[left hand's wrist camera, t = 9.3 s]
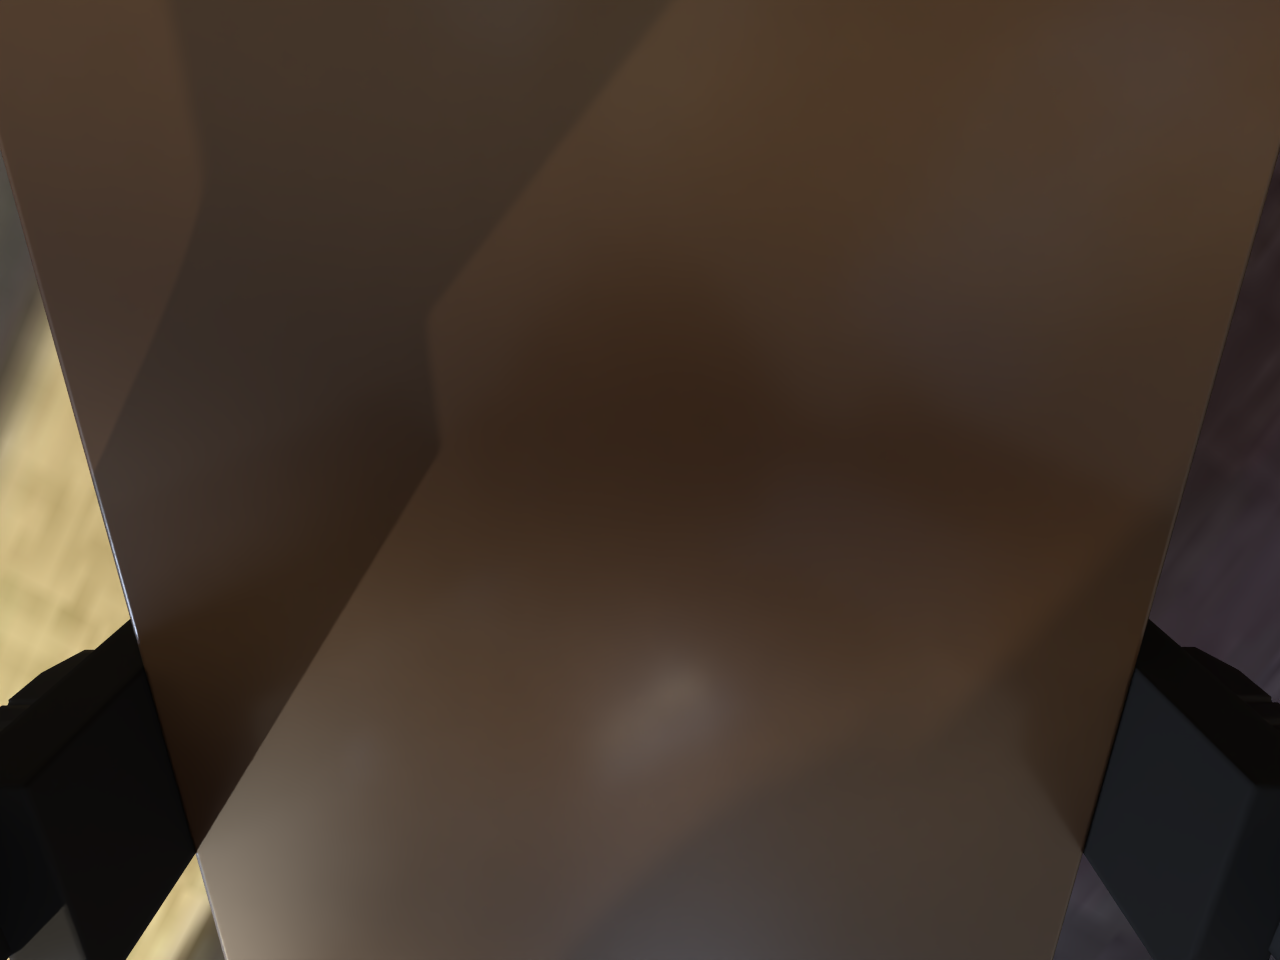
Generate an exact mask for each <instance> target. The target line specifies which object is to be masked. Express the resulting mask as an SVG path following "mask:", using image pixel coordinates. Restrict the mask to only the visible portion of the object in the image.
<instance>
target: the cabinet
mask: <svg viewBox="0 0 1280 960" xmlns="http://www.w3.org/2000/svg"><path fill="white" fill-rule="evenodd" d="M0 149H1V153H2V156H3V160H4V164H5V167H6V171H7V174H8V178H9V182H10V185H11V189H12V192H13V196H14V200H15V203H16V207H17V210H18V214H19V218H20V221H21V225H22V229H23V232H24V236H25V239H26V243H27V247H28V250H29V254H30V257H31V261H32V265H33V268H34V272H35V275H36V279H37V283H38V286H39V290H40V293H41V297H42V301H43V304H44V308H45V312H46V315H47V319H48V322H49V326H50V330H51V333H52V337H53V340H54V344H55V348H56V351H57V355H58V358H59V362H60V366H61V369H62V373H63V376H64V380H65V384H66V387H67V391H68V395H69V398H70V402H71V405H72V409H73V413H74V416H75V420H76V423H77V427H78V431H79V434H80V438H81V441H82V445H83V449H84V452H85V456H86V459H87V463H88V467H89V470H90V474H91V477H92V481H93V485H94V488H95V492H96V496H97V499H98V503H99V506H100V510H101V514H102V517H103V521H104V524H105V528H106V532H107V535H108V539H109V542H110V546H111V550H112V553H113V557H114V560H115V564H116V568H117V571H118V575H119V579H120V582H121V586H122V589H123V593H124V597H125V600H126V604H127V607H128V611H129V615H130V618H131V622H132V625H133V629H134V633H135V636H136V640H137V643H138V647H139V651H140V654H141V658H142V662H143V665H144V669H145V672H146V676H147V680H148V683H149V687H150V690H151V694H152V698H153V701H154V705H155V708H156V712H157V716H158V719H159V723H160V726H161V730H162V734H163V737H164V741H165V745H166V748H167V752H168V755H169V759H170V763H171V766H172V770H173V773H174V777H175V781H176V784H177V788H178V791H179V795H180V799H181V802H182V806H183V809H184V813H185V817H186V820H187V824H188V828H189V831H190V835H191V838H192V842H193V846H194V849H195V853H196V856H197V860H198V864H199V867H200V871H201V874H202V878H203V882H204V885H205V889H206V892H207V896H208V900H209V903H210V907H211V911H212V914H213V918H214V921H215V925H216V929H217V932H218V936H219V939H220V943H221V947H222V950H223V954H224V957H225V960H1053V957H1054V954H1055V950H1056V946H1057V943H1058V939H1059V936H1060V932H1061V929H1062V925H1063V921H1064V918H1065V914H1066V911H1067V907H1068V904H1069V900H1070V896H1071V893H1072V889H1073V886H1074V882H1075V879H1076V875H1077V871H1078V868H1079V864H1080V861H1081V857H1082V854H1083V850H1084V846H1085V843H1086V839H1087V836H1088V832H1089V829H1090V825H1091V821H1092V818H1093V814H1094V811H1095V807H1096V804H1097V800H1098V796H1099V793H1100V789H1101V786H1102V782H1103V779H1104V775H1105V771H1106V768H1107V764H1108V761H1109V757H1110V754H1111V750H1112V746H1113V743H1114V739H1115V736H1116V732H1117V729H1118V725H1119V722H1120V718H1121V714H1122V711H1123V707H1124V704H1125V700H1126V697H1127V693H1128V689H1129V686H1130V682H1131V679H1132V675H1133V672H1134V668H1135V664H1136V661H1137V657H1138V654H1139V650H1140V647H1141V643H1142V639H1143V636H1144V632H1145V629H1146V625H1147V622H1148V618H1149V614H1150V611H1151V607H1152V604H1153V600H1154V597H1155V593H1156V589H1157V586H1158V582H1159V579H1160V575H1161V572H1162V568H1163V564H1164V561H1165V557H1166V554H1167V550H1168V547H1169V543H1170V539H1171V536H1172V532H1173V529H1174V525H1175V522H1176V518H1177V514H1178V511H1179V507H1180V504H1181V500H1182V497H1183V493H1184V489H1185V486H1186V482H1187V479H1188V475H1189V472H1190V468H1191V464H1192V461H1193V457H1194V454H1195V450H1196V447H1197V443H1198V439H1199V436H1200V432H1201V429H1202V425H1203V422H1204V418H1205V414H1206V411H1207V407H1208V404H1209V400H1210V397H1211V393H1212V389H1213V386H1214V382H1215V379H1216V375H1217V372H1218V368H1219V364H1220V361H1221V357H1222V354H1223V350H1224V347H1225V343H1226V339H1227V336H1228V332H1229V329H1230V325H1231V322H1232V318H1233V314H1234V311H1235V307H1236V304H1237V300H1238V297H1239V293H1240V289H1241V286H1242V282H1243V279H1244V275H1245V272H1246V268H1247V264H1248V261H1249V257H1250V254H1251V250H1252V247H1253V243H1254V239H1255V236H1256V232H1257V229H1258V225H1259V222H1260V218H1261V214H1262V211H1263V207H1264V204H1265V200H1266V197H1267V193H1268V189H1269V186H1270V182H1271V179H1272V175H1273V172H1274V168H1275V164H1276V161H1277V157H1278V154H1279V150H1280V0H0Z"/></svg>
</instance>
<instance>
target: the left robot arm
mask: <svg viewBox="0 0 1280 960" xmlns="http://www.w3.org/2000/svg"><path fill="white" fill-rule="evenodd" d="M1083 853H1084V855H1085V856H1086V858H1087V859H1088V861H1089V862H1090V864H1091V865H1092V867H1093V868H1094V870H1095V871H1096V873H1097V874H1098V876H1099V877H1100V879H1101V881H1102V882H1103V884H1104V885H1105V887H1106V888H1107V890H1108V891H1109V893H1110V894H1111V896H1112V897H1113V899H1114V900H1115V902H1116V903H1117V905H1118V906H1119V908H1120V909H1121V911H1122V913H1123V914H1124V916H1125V917H1126V919H1127V920H1128V922H1129V923H1130V925H1131V926H1132V928H1133V929H1134V931H1135V932H1136V934H1137V935H1138V937H1139V938H1140V940H1141V941H1142V943H1143V945H1144V946H1145V948H1146V949H1147V951H1148V952H1149V954H1150V955H1151V957H1152V958H1153V960H1269V958H1270V955H1271V954H1272V955H1273V957H1274V958H1275V959H1276V960H1280V704H1279V703H1278V702H1272V700H1271V696H1269V695H1268V694H1267V693H1266V692H1265V691H1263V690H1262V689H1261V688H1260V687H1258V686H1257V685H1256V684H1255V683H1254V682H1252V681H1251V680H1250V679H1249V678H1248V677H1246V676H1245V675H1244V674H1243V673H1241V672H1240V671H1239V670H1237V669H1236V668H1234V667H1232V666H1230V665H1228V664H1226V663H1224V662H1222V661H1220V660H1219V659H1217V658H1215V657H1213V656H1211V655H1209V654H1207V653H1205V652H1203V651H1201V650H1200V649H1198V648H1196V647H1180V646H1179V645H1178V644H1177V643H1176V642H1175V641H1174V640H1172V639H1171V638H1170V637H1169V636H1168V635H1167V634H1165V633H1164V632H1163V631H1162V630H1161V629H1160V628H1159V627H1157V626H1156V625H1155V624H1154V623H1153V622H1152V621H1150V620H1149V619H1148V622H1147V625H1146V629H1145V632H1144V636H1143V639H1142V643H1141V647H1140V650H1139V654H1138V657H1137V661H1136V664H1135V668H1134V672H1133V675H1132V679H1131V682H1130V686H1129V689H1128V693H1127V697H1126V700H1125V704H1124V707H1123V711H1122V714H1121V718H1120V722H1119V725H1118V729H1117V732H1116V736H1115V739H1114V743H1113V746H1112V750H1111V754H1110V757H1109V761H1108V764H1107V768H1106V771H1105V775H1104V779H1103V782H1102V786H1101V789H1100V793H1099V796H1098V800H1097V804H1096V807H1095V811H1094V814H1093V818H1092V821H1091V825H1090V829H1089V832H1088V836H1087V839H1086V843H1085V846H1084V850H1083ZM194 855H195V849H194V846H193V842H192V838H191V835H190V831H189V828H188V824H187V820H186V817H185V813H184V809H183V806H182V802H181V799H180V795H179V791H178V788H177V784H176V781H175V777H174V773H173V770H172V766H171V763H170V759H169V755H168V752H167V748H166V745H165V741H164V737H163V734H162V730H161V726H160V723H159V719H158V716H157V712H156V708H155V705H154V701H153V698H152V694H151V690H150V687H149V683H148V680H147V676H146V672H145V669H144V665H143V662H142V658H141V654H140V651H139V647H138V643H137V640H136V636H135V633H134V629H133V625H132V622H131V619H130V620H129V621H127V622H126V623H125V624H124V625H123V626H122V627H121V628H119V629H118V630H117V631H116V632H115V633H114V634H112V635H111V636H110V637H109V638H108V639H107V640H106V641H104V642H103V643H102V644H101V645H100V646H99V647H97V648H96V649H95V650H84V651H82V652H80V653H78V654H76V655H74V656H72V657H70V658H69V659H67V660H65V661H63V662H61V663H59V664H57V665H55V666H53V667H52V668H50V669H48V670H46V671H44V672H42V673H41V674H39V675H38V676H37V677H36V678H35V679H33V680H32V681H31V682H30V683H29V684H27V685H26V686H25V687H24V688H23V689H21V690H20V691H19V692H18V693H16V694H15V695H14V696H13V697H12V698H10V699H9V703H8V705H7V706H1V707H0V960H7V959H8V957H9V958H10V960H126V958H127V957H128V955H129V954H130V952H131V951H132V949H133V948H134V946H135V945H136V943H137V942H138V940H139V939H140V937H141V936H142V934H143V933H144V931H145V929H146V928H147V926H148V925H149V923H150V922H151V920H152V919H153V917H154V916H155V914H156V913H157V911H158V910H159V908H160V907H161V905H162V904H163V902H164V901H165V899H166V897H167V896H168V894H169V893H170V891H171V890H172V888H173V887H174V885H175V884H176V882H177V881H178V879H179V878H180V876H181V875H182V873H183V872H184V870H185V869H186V867H187V866H188V864H189V862H190V861H191V859H192V858H193V856H194Z"/></svg>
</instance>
